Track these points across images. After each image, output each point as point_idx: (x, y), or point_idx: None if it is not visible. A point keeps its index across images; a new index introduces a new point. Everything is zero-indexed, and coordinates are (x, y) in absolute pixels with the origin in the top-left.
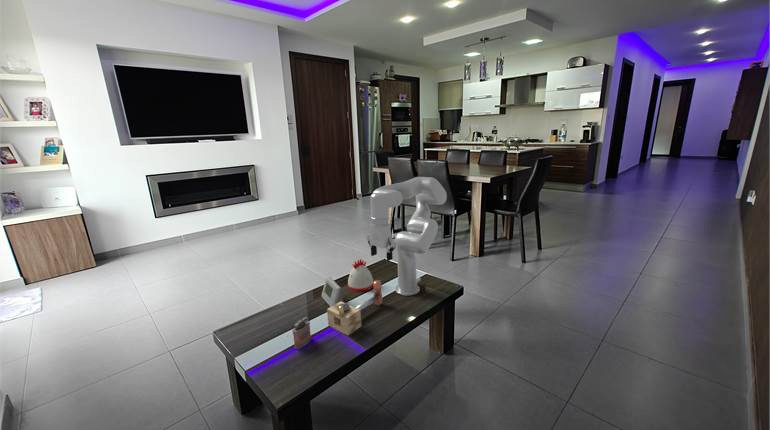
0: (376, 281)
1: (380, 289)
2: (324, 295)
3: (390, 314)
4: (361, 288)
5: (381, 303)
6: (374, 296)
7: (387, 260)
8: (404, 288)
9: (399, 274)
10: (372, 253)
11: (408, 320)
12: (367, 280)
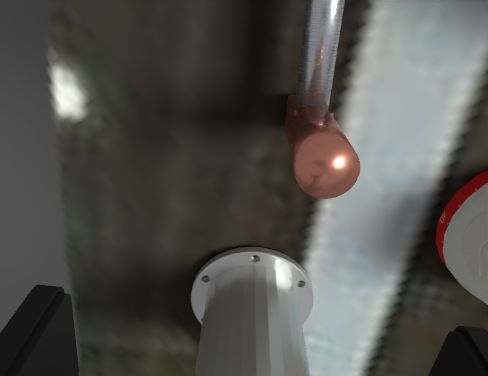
0: (333, 168)
1: (289, 146)
2: None
3: (179, 61)
4: (482, 185)
5: (285, 121)
6: (317, 100)
7: (42, 288)
8: (239, 280)
9: (275, 341)
10: (476, 372)
11: (62, 66)
12: (475, 242)
